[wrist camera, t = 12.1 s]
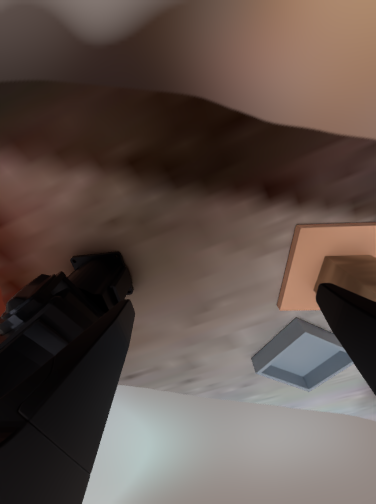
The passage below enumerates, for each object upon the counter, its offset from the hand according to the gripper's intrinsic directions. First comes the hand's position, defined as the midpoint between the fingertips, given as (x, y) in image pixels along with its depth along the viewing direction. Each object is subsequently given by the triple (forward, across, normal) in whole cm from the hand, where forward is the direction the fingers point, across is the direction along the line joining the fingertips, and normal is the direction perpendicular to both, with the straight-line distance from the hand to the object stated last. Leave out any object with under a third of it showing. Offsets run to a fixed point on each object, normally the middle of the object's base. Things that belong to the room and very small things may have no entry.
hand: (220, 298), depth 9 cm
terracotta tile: (+13, -16, +8) cm, 22 cm away
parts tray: (+13, -14, +24) cm, 31 cm away
